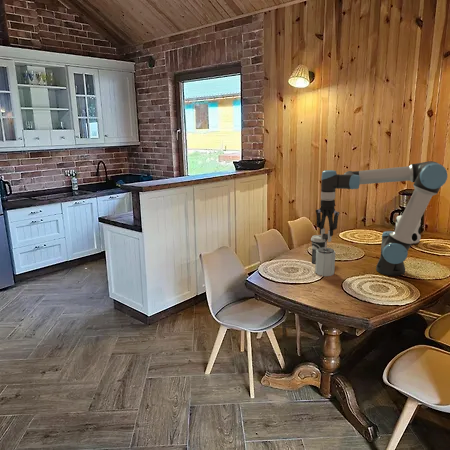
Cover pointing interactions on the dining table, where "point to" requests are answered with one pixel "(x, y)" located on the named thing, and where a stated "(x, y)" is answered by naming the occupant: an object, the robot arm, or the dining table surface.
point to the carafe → (324, 261)
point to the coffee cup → (317, 243)
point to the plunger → (325, 236)
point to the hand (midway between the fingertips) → (326, 240)
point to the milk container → (416, 234)
